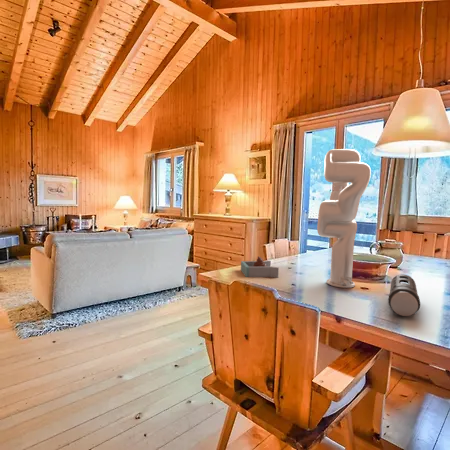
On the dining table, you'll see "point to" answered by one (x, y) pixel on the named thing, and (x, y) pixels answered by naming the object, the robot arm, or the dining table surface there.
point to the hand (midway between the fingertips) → (338, 223)
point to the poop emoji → (259, 263)
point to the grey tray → (259, 269)
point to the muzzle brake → (403, 296)
